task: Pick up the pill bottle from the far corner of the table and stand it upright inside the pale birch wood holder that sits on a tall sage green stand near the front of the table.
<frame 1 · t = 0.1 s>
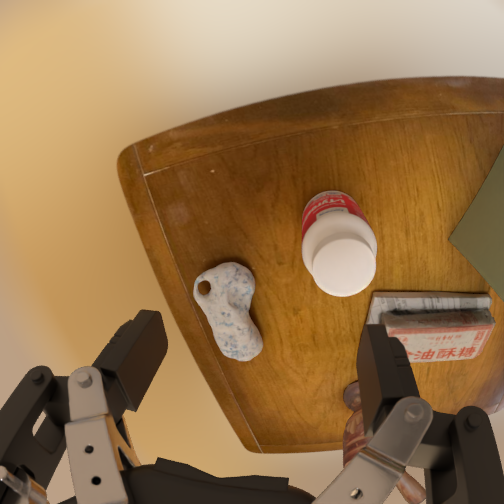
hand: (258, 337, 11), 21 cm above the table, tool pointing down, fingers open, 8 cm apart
decorative stone: (240, 304, 37), on the table
pill bottle: (331, 217, 31), on the table
mortar and pestle: (376, 390, 41), on the table
packaged product: (426, 321, 34), on the table
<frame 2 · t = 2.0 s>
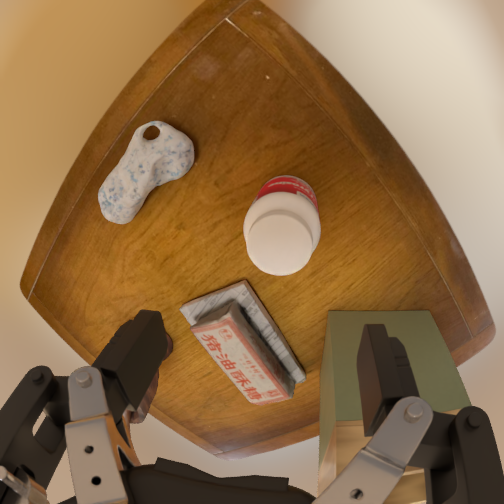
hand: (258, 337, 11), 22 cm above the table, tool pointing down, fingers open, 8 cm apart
holder: (391, 447, 23), resting on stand
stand: (373, 345, 37), on the table
decorative stone: (151, 174, 32), on the table
pill bottle: (286, 202, 31), on the table
mortar and pestle: (158, 346, 43), on the table
packaged product: (248, 341, 40), on the table
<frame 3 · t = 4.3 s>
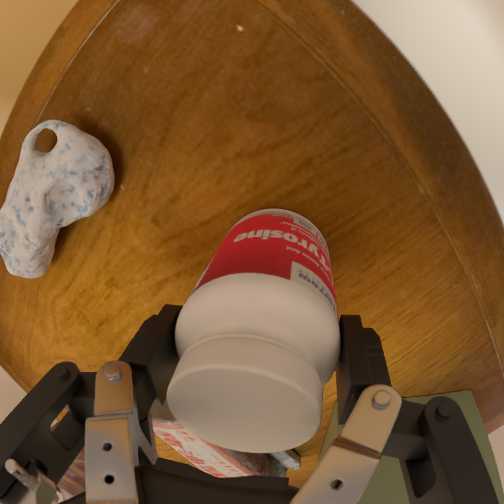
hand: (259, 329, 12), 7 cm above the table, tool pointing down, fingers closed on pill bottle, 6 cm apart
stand: (391, 431, 24), on the table
decorative stone: (65, 204, 19), on the table
pill bottle: (275, 254, 18), on the table, touching gripper
mortar and pestle: (114, 413, 30), on the table
packaged product: (224, 424, 27), on the table
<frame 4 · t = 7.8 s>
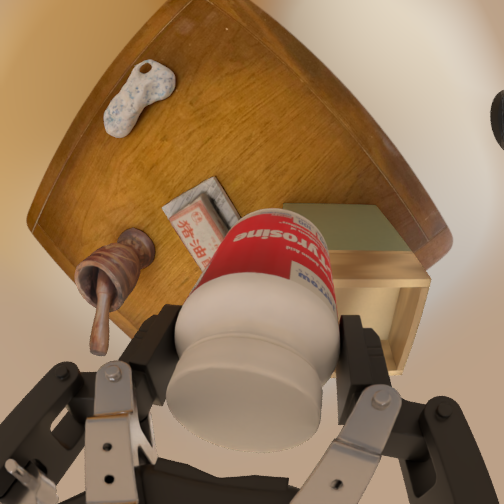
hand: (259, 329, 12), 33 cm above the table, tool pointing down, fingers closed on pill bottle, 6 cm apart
holder: (341, 300, 31), resting on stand
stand: (329, 240, 45), on the table
decorative stone: (144, 102, 40), on the table
pill bottle: (275, 254, 18), point 26 cm above the table, touching gripper
mortar and pestle: (143, 255, 51), on the table
packaged product: (219, 238, 48), on the table
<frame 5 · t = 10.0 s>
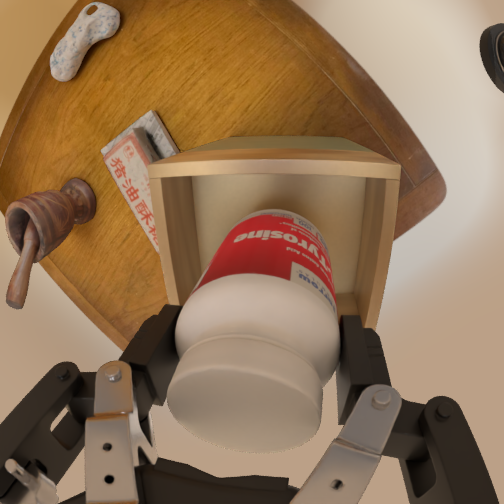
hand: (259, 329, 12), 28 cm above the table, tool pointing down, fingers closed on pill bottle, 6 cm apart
holder: (278, 228, 22), resting on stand
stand: (287, 182, 37), on the table
decorative stone: (91, 45, 31), on the table
pill bottle: (275, 255, 18), point 21 cm above the table, touching gripper
mortar and pestle: (85, 209, 43), on the table
packaged product: (160, 183, 39), on the table
when the fingers open (23 cm above the table, at t = 11.7 s): pill bottle stays where it is, resting on holder.
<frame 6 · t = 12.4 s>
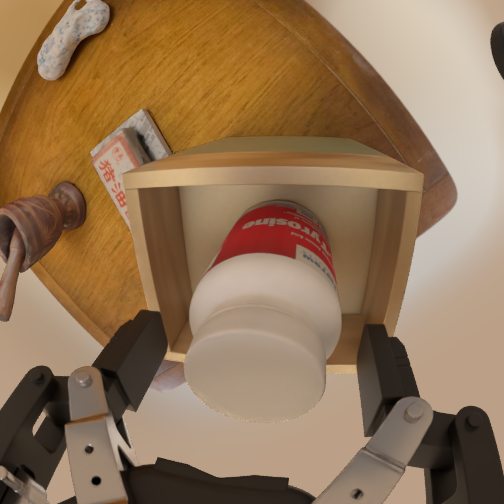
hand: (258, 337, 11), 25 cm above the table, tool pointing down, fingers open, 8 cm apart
holder: (277, 242, 20), resting on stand
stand: (287, 186, 34), on the table
decorative stone: (80, 42, 29), on the table
pill bottle: (279, 244, 19), point 16 cm above the table, touching holder
mortar and pestle: (75, 214, 40), on the table
packaged product: (152, 187, 36), on the table
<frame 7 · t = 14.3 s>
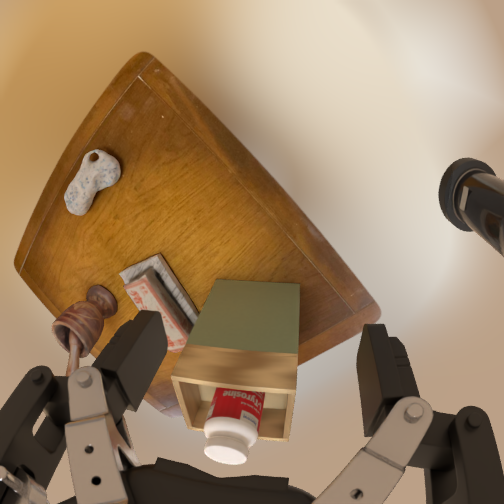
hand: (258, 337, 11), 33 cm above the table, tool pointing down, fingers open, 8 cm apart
holder: (242, 380, 37), resting on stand
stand: (257, 310, 52), on the table
decorative stone: (98, 182, 46), on the table
pill bottle: (242, 382, 37), point 16 cm above the table, touching holder
mortar and pestle: (108, 306, 57), on the table
packaged product: (167, 301, 54), on the table
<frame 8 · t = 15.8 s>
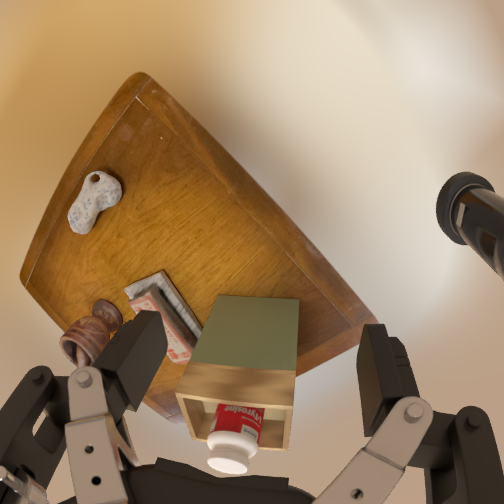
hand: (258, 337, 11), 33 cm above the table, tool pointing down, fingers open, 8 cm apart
holder: (243, 394, 38), resting on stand
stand: (258, 324, 53), on the table
decorative stone: (100, 202, 47), on the table
pill bottle: (243, 396, 38), point 16 cm above the table, touching holder
mortar and pestle: (113, 319, 59), on the table
packaged product: (171, 315, 55), on the table
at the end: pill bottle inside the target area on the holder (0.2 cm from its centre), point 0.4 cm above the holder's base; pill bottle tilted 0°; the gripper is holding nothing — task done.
